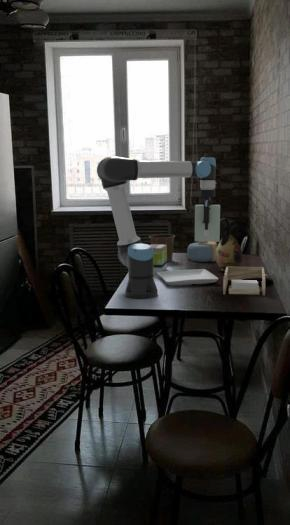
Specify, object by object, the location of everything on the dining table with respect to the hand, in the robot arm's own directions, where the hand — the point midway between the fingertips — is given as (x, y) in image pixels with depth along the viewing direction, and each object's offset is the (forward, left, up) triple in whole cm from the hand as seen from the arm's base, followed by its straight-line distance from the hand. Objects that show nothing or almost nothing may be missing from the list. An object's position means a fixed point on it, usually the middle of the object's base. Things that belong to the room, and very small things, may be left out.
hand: (207, 235), depth 266 cm
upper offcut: (-20, -19, -22) cm, 35 cm away
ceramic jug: (+33, -9, -24) cm, 42 cm away
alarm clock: (+69, +8, -25) cm, 74 cm away
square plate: (+3, +11, -25) cm, 27 cm away
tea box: (+27, +31, -25) cm, 48 cm away
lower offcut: (-20, -19, -25) cm, 37 cm away
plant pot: (+60, +33, -25) cm, 73 cm away
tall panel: (0, 0, -3) cm, 3 cm away
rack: (-9, -19, -24) cm, 32 cm away
